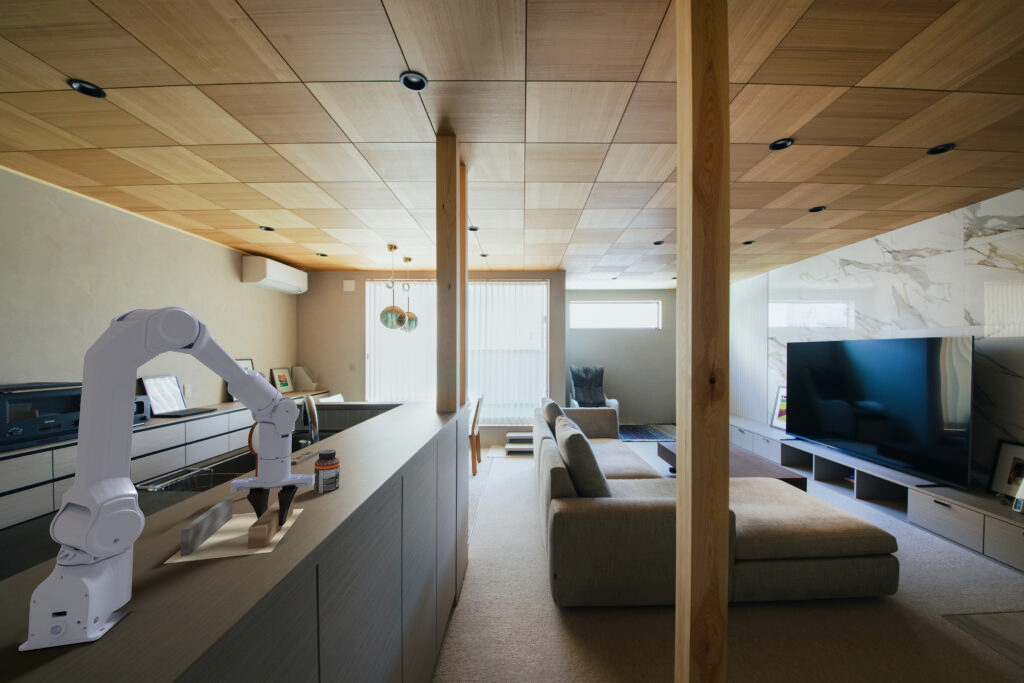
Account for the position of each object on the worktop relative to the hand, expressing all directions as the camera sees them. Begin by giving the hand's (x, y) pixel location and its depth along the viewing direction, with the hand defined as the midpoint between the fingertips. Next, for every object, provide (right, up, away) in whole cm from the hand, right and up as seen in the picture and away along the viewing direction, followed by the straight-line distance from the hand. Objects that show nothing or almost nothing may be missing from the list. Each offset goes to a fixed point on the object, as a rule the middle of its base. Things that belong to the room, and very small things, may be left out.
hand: (273, 524), depth 76 cm
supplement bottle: (-1, -4, +23) cm, 24 cm away
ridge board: (-5, -2, -1) cm, 6 cm away
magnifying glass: (-16, -3, +20) cm, 26 cm away
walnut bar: (0, -1, 0) cm, 1 cm away
